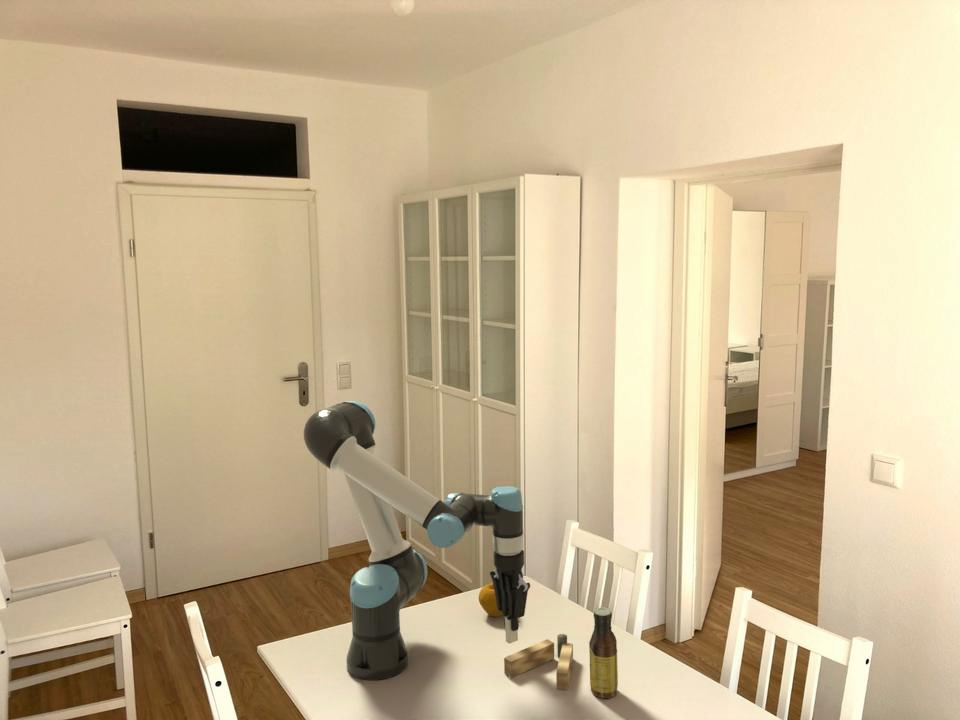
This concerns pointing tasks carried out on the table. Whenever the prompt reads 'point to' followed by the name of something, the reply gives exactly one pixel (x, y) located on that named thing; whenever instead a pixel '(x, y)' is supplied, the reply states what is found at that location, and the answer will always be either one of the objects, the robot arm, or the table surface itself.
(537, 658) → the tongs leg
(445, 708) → the table surface
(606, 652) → the sauce bottle
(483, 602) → the apple
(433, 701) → the table surface
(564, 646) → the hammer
